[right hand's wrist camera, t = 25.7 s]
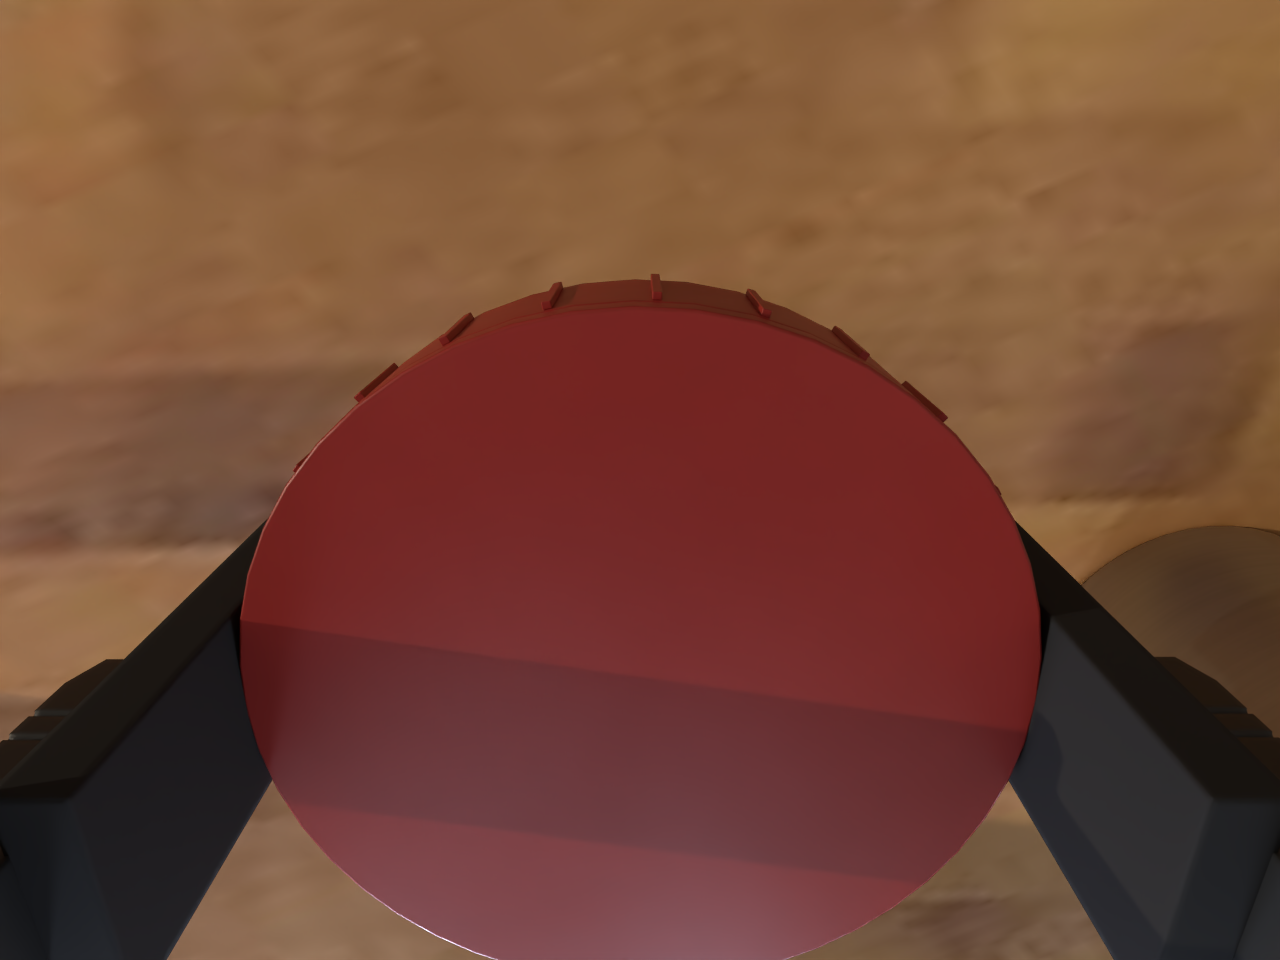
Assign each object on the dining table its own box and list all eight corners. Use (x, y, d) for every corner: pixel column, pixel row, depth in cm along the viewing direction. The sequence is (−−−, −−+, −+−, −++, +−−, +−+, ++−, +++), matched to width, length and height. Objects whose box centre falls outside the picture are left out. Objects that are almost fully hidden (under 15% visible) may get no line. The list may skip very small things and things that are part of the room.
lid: (698, 960, 15) (707, 1076, 13) (178, 679, 13) (97, 770, 11) (1131, 560, 12) (1223, 636, 10) (549, 96, 10) (529, 83, 8)
